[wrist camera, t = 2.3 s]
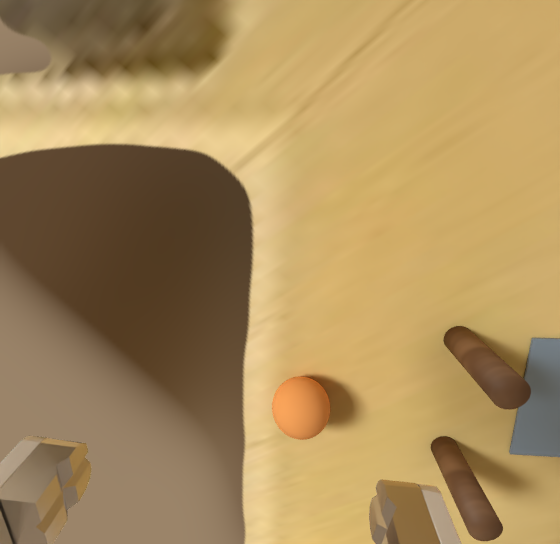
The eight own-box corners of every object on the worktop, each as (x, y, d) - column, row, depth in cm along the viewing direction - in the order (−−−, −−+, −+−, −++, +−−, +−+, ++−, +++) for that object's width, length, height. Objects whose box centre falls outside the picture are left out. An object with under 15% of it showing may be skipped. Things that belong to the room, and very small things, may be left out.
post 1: (470, 351, 33) (527, 410, 24) (442, 350, 33) (488, 408, 24) (474, 326, 32) (534, 377, 23) (445, 325, 32) (493, 376, 24)
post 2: (455, 457, 36) (500, 542, 28) (429, 456, 37) (466, 539, 28) (458, 437, 36) (505, 517, 27) (431, 435, 36) (470, 514, 27)
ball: (328, 413, 36) (331, 455, 31) (276, 410, 37) (269, 452, 31) (329, 366, 35) (332, 402, 29) (274, 364, 35) (267, 399, 30)
